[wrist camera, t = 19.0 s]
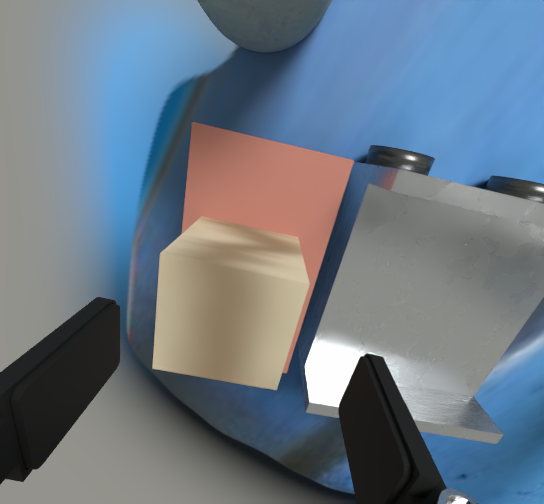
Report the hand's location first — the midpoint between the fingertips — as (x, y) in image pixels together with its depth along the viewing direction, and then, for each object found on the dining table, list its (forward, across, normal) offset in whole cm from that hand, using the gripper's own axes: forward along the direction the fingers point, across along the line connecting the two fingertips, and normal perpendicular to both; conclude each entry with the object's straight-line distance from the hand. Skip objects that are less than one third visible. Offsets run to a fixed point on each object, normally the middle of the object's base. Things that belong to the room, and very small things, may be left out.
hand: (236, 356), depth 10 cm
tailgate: (+8, -4, 0) cm, 9 cm away
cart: (+13, -12, 0) cm, 18 cm away
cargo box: (+7, +1, 0) cm, 7 cm away
